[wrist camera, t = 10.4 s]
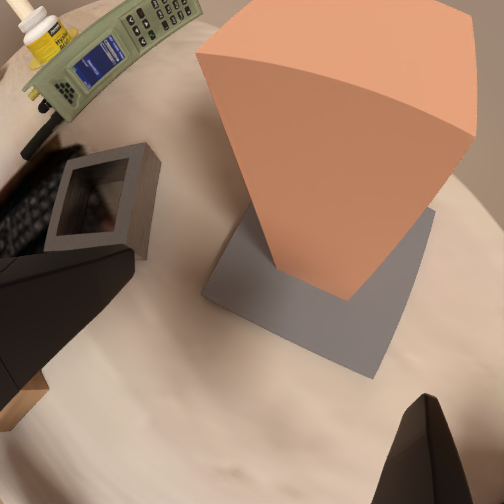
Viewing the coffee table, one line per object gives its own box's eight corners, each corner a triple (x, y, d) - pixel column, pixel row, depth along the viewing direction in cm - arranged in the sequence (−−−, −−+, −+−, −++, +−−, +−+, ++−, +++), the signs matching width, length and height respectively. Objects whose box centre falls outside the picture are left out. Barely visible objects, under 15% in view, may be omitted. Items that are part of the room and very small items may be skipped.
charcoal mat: (370, 378, 14) (373, 379, 14) (204, 296, 17) (200, 294, 16) (432, 215, 16) (435, 211, 15) (283, 153, 19) (282, 147, 18)
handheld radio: (208, 14, 27) (35, 171, 24) (190, 12, 28) (28, 159, 25) (190, -31, 21) (-9, 135, 17) (172, -30, 22) (-12, 125, 19)
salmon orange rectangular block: (347, 301, 15) (475, 136, 3) (276, 269, 16) (194, 52, 4) (375, 233, 16) (471, 16, 3) (308, 204, 17) (295, -32, 5)
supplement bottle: (74, 63, 29) (38, 13, 20) (44, 81, 29) (7, 37, 20) (83, 43, 31) (52, -3, 21) (54, 60, 31) (22, 18, 22)
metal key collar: (139, 344, 17) (116, 342, 14) (13, 323, 19) (-9, 318, 16) (161, 162, 20) (146, 142, 18) (40, 186, 22) (22, 174, 20)
